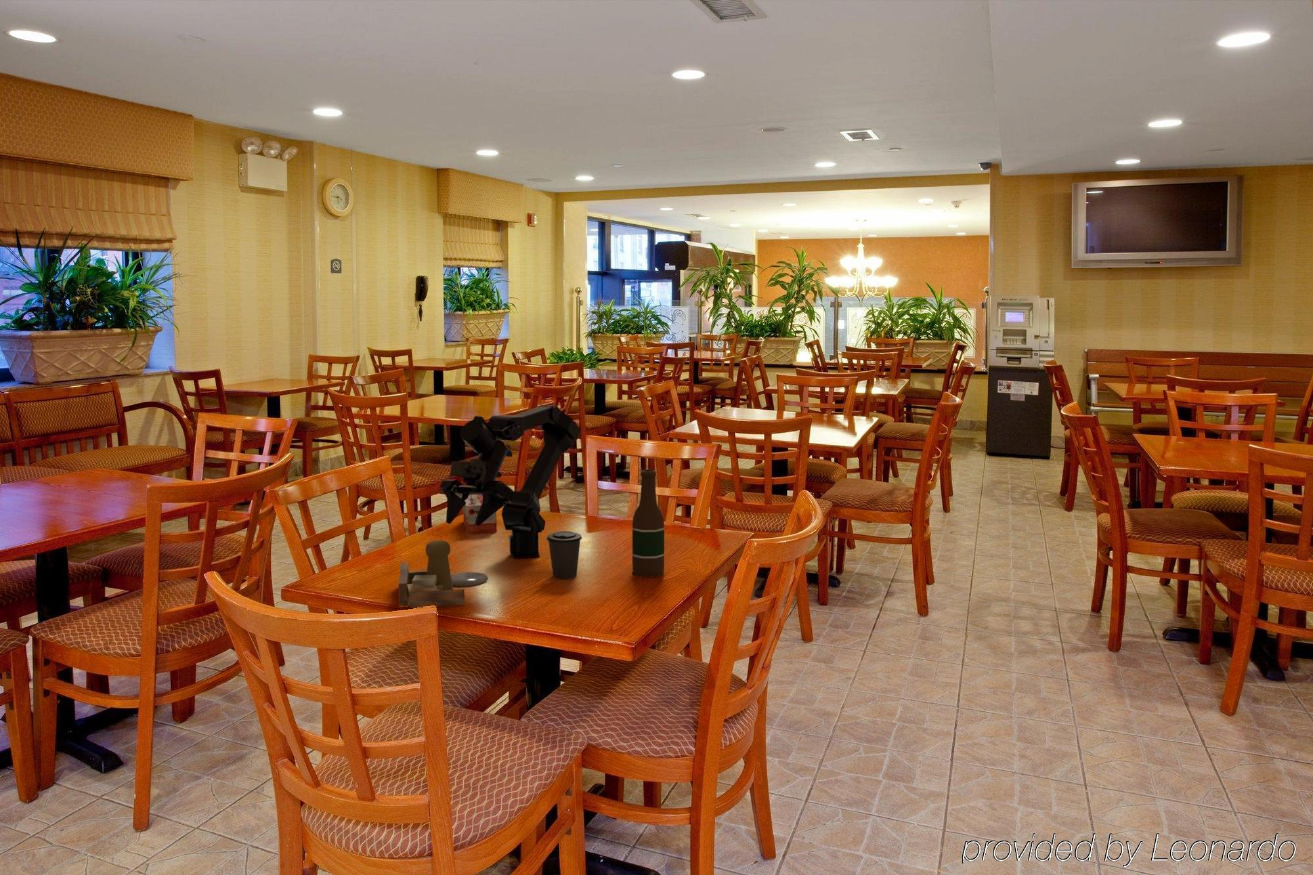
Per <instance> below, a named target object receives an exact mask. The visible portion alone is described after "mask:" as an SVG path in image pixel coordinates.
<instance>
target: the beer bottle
mask: <svg viewBox="0 0 1313 875" xmlns="http://www.w3.org/2000/svg"><path fill="white" fill-rule="evenodd" d="M640 476H641V484H640V485H641V486H640V499H639V504H638V506H637V507H636V509H635V510H634V512H633V516H632V524H631V526H632V527H631V530H632V531H631V532H632V533H631V534H632V536H631V537H632V538H631V539H632V540H631V542H632V543H631V544H632V547H631V550H632V551H631V553H632V554H631V555H632V556H631V557H632V558H631V560H632V564H631V565H632V574H633V575H634V576H637V577H640V576H641V578H656V576H657V577H660V576H663V575H664V571H665V519H664V516H663V513H662V510H661V509H660V507H659V505H658V503H657V492H656V477H657V472H656V470H654V469H643V470H641V471H640ZM662 574H663V575H662ZM659 575H660V576H659Z"/></svg>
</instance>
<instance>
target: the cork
mask: <svg viewBox="0 0 1313 875" xmlns="http://www.w3.org/2000/svg"><path fill="white" fill-rule="evenodd" d="M450 552H451V546H450V543H449V542H448V541H446V540H441V539H440V540H433V541H432V540H431V541H429V542H428V543H426V546H425V555H426V556H427V557H428V559H427V569H426V570H427V575H436V576H437V583H436V586H440V585H443V590H454V586H453V585H452V579H451V574H452V573H451V569H450V561H449V555H450Z"/></svg>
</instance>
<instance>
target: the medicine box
mask: <svg viewBox="0 0 1313 875" xmlns="http://www.w3.org/2000/svg"><path fill="white" fill-rule="evenodd" d="M465 502H466V504H465V505H464V507H463V508H462V510H463V511H462V514H463V515H462V516H463V523H464V527H465V530H466V534H468V535H471V534H473V535H474V534H484V533H497V531H498V530H497V525H498V524H497V521H498V520H497V511H496V512H495V513H494V514H492V515H491V516H490V517H489V518H488V519H487V520H485V521H484V522H483V523H482V524H481V525H480V526H477V525H475V521H476V518H477V515H478V512H479V510H480V507H481V504H482V502H483V497H482V495H476V494H469V497H468V498H467V499H466V500H465Z"/></svg>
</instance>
